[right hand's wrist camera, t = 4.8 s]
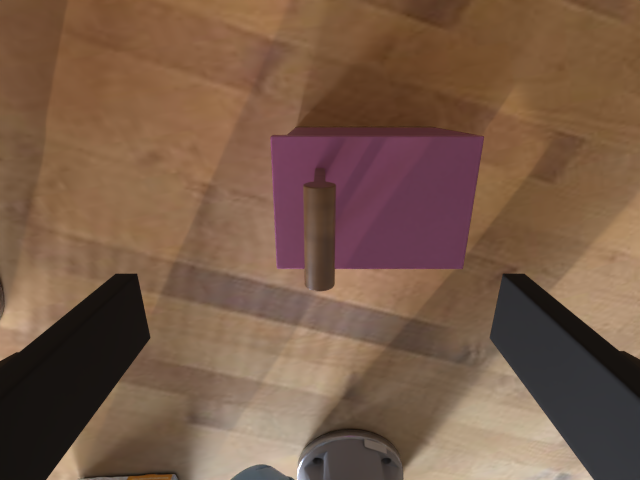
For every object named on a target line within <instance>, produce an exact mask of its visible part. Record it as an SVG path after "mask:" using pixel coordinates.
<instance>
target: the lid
mask: <svg viewBox="0 0 640 480" xmlns="http://www.w3.org/2000/svg"><path fill="white" fill-rule="evenodd" d="M483 140H484V136H479V135H272V136H271V156H272V177H273V198H274V219H275V239H276V260H277V269H305V286H306V287H307V288H308V289H310V290H313V291H326V290H329V289H331V288H332V287H333V286H334V283H335V269H463V265H464V258H465V252H466V246H467V240H468V233H469V227H470V221H471V215H472V209H473V202H474V196H475V190H476V184H477V178H478V171H479V165H480V159H481V153H482V146H483Z"/></svg>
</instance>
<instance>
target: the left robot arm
mask: <svg viewBox="0 0 640 480" xmlns="http://www.w3.org/2000/svg"><path fill="white" fill-rule="evenodd" d="M297 479H298V480H403V468H402V464H401V459H400V456H399V453H398V452H397V450H396V448H395V447H394V446H393V445H392V444H391V443H390V442H389V441H388V440H386V439H385V438H383V437H381V436H379V435H377V434H374V433H372V432H368V431H363V430H352V429H350V430H339V431H334V432H330V433H327V434H325V435H322V436H320V437H318V438H317V439H315V440H314V441H312V442H311V443H310V444H309V445H308V446H307V447H306V448H305V449H304V450H303V452H302V454H301V456H300V458H299V462H298V474H297ZM231 480H294V479H293V478H292V477H288V476H285V475H284V474H282V473H281V472H279V471H278V470H276V469H275V468H273V467H271V466H268V465H255V466H252V467H249V468H247V469H245V470H243V471H242V472H240V473H239V474H237V475H236V476H235V477H233V478H232V479H231Z"/></svg>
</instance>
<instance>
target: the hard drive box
mask: <svg viewBox="0 0 640 480" xmlns="http://www.w3.org/2000/svg"><path fill="white" fill-rule="evenodd" d="M77 480H177V477H176V475H175V474H166V475H157V474H148V475H143V476H125V477H96V478H84V479H77Z"/></svg>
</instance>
